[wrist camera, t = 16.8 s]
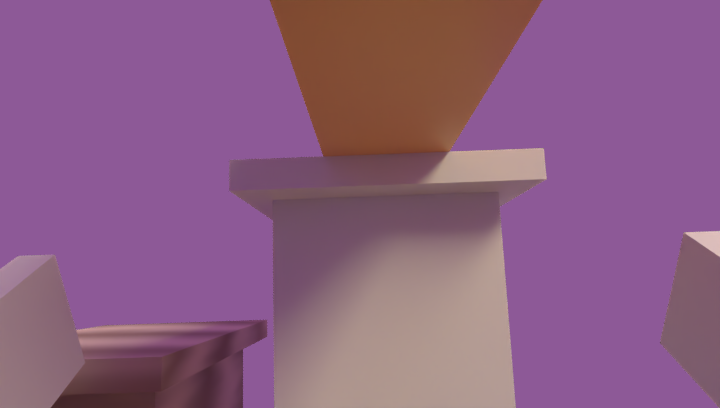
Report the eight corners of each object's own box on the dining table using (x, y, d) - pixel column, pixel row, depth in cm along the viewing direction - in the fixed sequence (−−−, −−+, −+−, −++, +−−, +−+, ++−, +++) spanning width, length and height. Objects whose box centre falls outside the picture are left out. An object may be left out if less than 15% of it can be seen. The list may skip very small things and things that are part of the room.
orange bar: (766, -244, 4) (681, -688, 5) (121, -216, 4) (140, -658, 5) (421, 212, 30) (417, 131, 30) (333, 215, 30) (331, 134, 31)
